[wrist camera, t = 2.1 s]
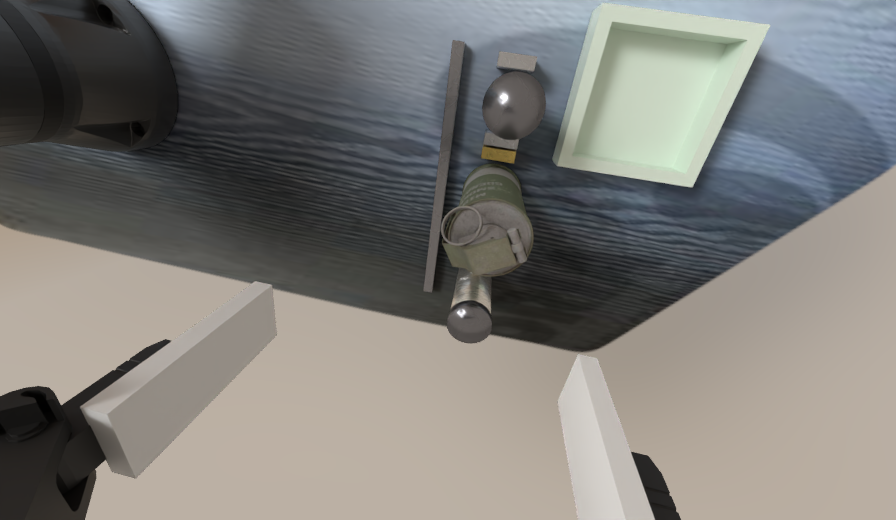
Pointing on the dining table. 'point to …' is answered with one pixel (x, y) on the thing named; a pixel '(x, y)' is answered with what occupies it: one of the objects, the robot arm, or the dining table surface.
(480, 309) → the fuse rail
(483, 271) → the grenade
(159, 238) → the dining table surface
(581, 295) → the dining table surface
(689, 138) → the tray
